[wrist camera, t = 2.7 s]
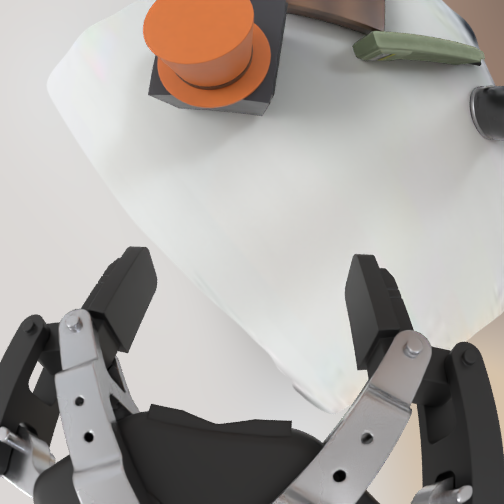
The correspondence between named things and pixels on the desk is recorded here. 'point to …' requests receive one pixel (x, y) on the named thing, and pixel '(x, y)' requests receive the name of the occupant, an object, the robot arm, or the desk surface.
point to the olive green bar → (415, 49)
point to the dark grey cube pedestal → (272, 25)
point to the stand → (343, 13)
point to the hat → (207, 50)
